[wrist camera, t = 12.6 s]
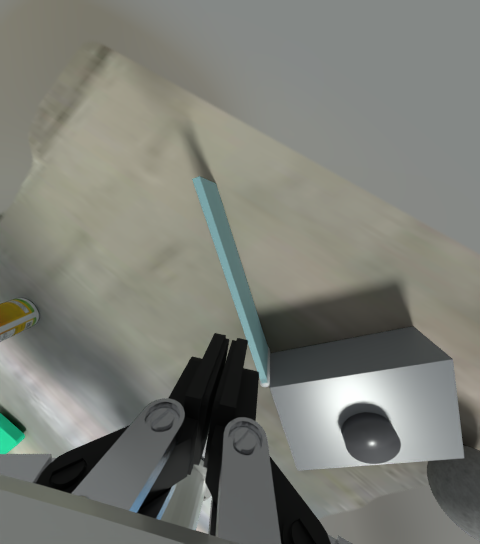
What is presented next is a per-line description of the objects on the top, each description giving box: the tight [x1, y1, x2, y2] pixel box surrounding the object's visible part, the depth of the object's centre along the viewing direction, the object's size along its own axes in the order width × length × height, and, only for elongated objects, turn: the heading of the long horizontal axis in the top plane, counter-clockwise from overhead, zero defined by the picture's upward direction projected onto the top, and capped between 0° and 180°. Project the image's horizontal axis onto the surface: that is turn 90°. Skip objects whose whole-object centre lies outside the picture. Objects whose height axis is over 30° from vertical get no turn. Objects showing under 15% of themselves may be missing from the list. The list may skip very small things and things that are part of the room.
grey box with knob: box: [270, 326, 464, 471], centre depth 30 cm, size 20×14×9 cm
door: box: [192, 176, 270, 387], centre depth 29 cm, size 26×1×7 cm, turn 18°
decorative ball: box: [427, 445, 480, 541], centre depth 30 cm, size 10×10×10 cm
